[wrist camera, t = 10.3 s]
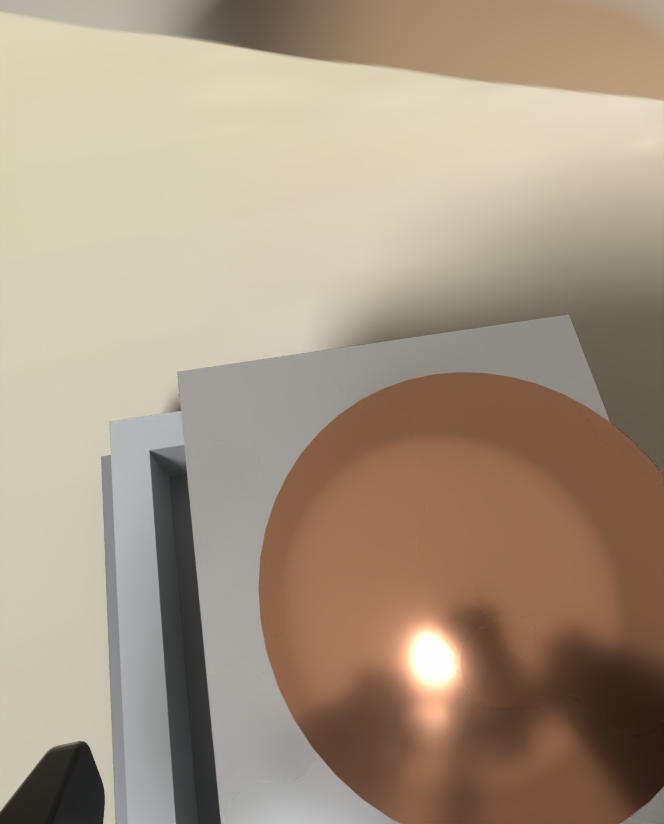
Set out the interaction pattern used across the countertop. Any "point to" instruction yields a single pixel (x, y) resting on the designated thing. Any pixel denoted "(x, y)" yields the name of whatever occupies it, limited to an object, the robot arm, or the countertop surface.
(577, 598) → the block
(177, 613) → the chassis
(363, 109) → the countertop surface
